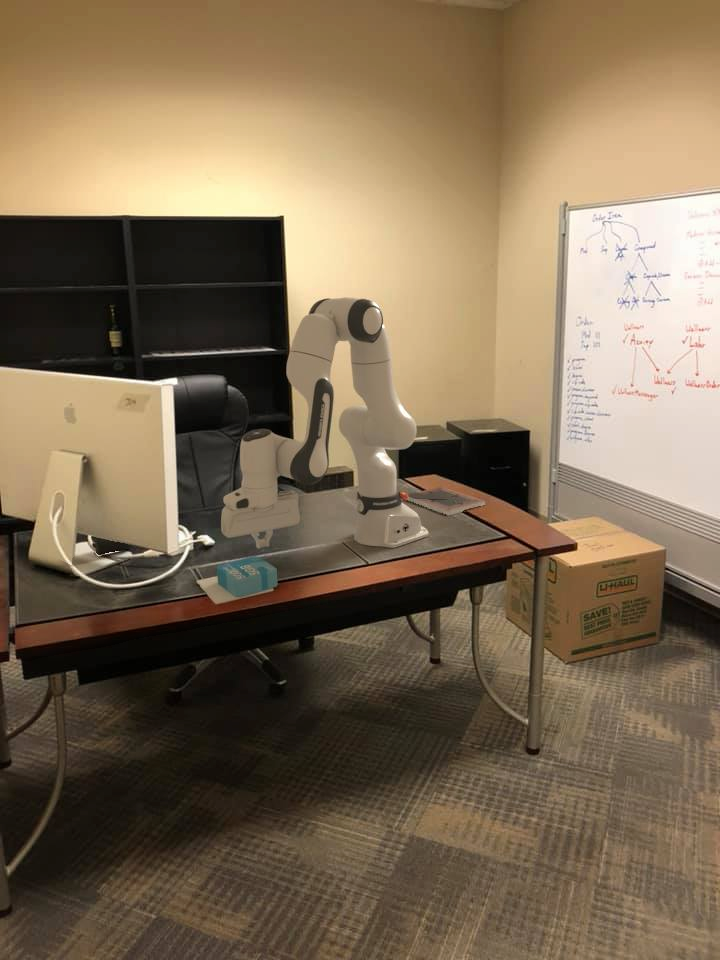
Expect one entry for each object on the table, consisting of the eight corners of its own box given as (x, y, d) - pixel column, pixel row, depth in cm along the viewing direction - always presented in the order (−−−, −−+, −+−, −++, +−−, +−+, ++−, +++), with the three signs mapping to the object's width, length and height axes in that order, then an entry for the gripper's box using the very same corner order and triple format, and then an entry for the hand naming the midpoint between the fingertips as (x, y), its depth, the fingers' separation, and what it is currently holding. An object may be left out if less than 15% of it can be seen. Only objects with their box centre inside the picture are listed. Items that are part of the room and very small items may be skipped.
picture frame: (405, 501, 255) (448, 517, 238) (405, 494, 254) (448, 510, 237) (440, 492, 264) (484, 507, 247) (440, 485, 263) (484, 500, 247)
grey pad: (251, 570, 198) (251, 568, 198) (273, 590, 185) (273, 588, 185) (196, 582, 191) (196, 580, 191) (215, 604, 178) (215, 602, 178)
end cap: (100, 560, 206) (97, 537, 204) (91, 553, 212) (89, 530, 210) (135, 551, 212) (132, 529, 210) (126, 544, 217) (123, 523, 216)
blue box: (279, 569, 185) (235, 581, 179) (280, 586, 187) (236, 598, 180) (256, 555, 195) (214, 566, 188) (257, 571, 196) (215, 582, 189)
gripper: (292, 485, 192) (294, 535, 196) (217, 498, 183) (220, 550, 186) (303, 491, 187) (305, 543, 191) (225, 504, 177) (229, 558, 181)
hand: (262, 546), depth 189 cm, fingers closed
